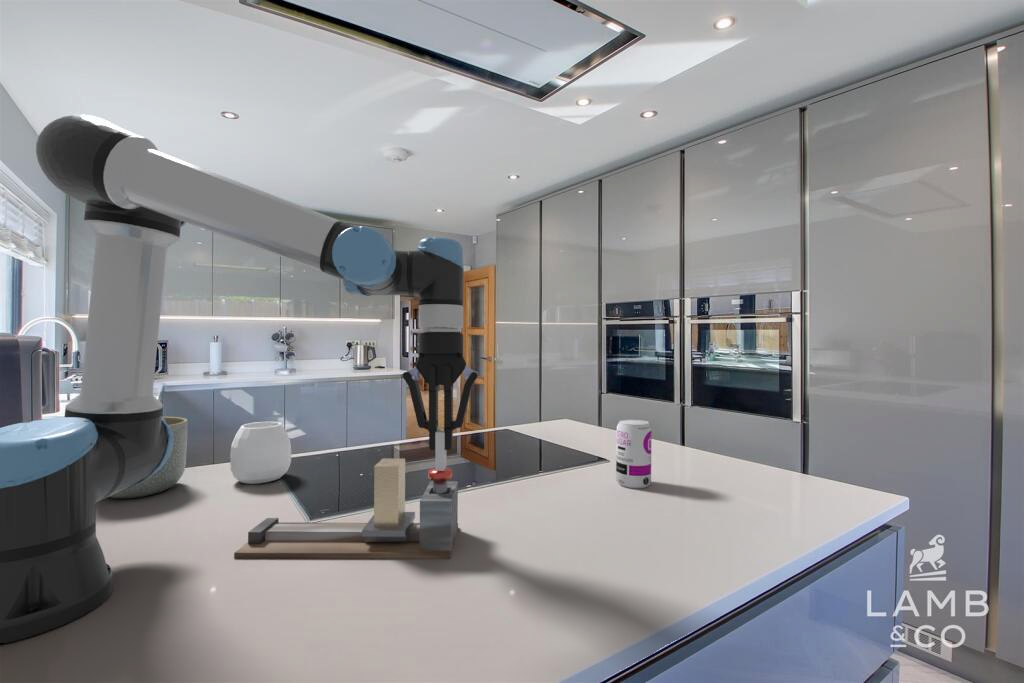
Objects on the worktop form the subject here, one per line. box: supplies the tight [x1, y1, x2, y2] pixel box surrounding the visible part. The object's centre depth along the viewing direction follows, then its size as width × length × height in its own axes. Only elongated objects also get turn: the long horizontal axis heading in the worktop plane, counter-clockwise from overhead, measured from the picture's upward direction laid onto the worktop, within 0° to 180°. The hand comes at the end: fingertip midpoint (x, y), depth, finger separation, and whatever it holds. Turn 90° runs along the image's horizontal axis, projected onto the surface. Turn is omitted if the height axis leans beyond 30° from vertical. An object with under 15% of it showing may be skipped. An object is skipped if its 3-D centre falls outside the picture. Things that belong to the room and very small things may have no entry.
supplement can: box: [615, 418, 653, 489], centre depth 111 cm, size 8×8×15 cm
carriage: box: [362, 458, 416, 542], centre depth 79 cm, size 8×7×12 cm
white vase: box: [229, 420, 292, 485], centre depth 113 cm, size 13×13×14 cm
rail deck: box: [233, 480, 459, 560], centre depth 79 cm, size 12×34×9 cm, turn 91°
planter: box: [109, 416, 189, 499], centre depth 103 cm, size 17×17×15 cm
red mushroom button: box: [427, 466, 453, 494], centre depth 79 cm, size 4×4×7 cm
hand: (440, 468), depth 79 cm, fingers closed
